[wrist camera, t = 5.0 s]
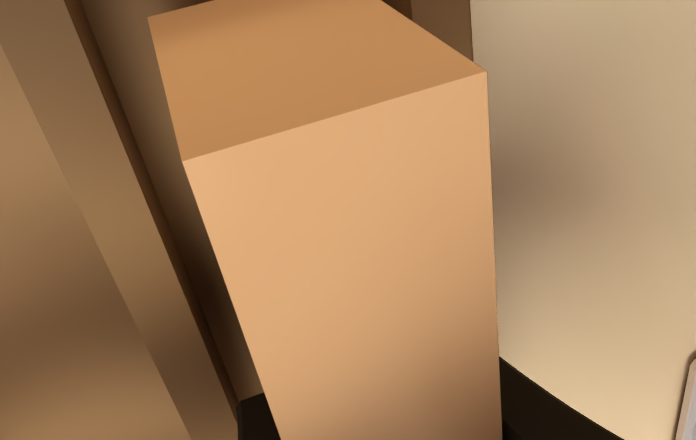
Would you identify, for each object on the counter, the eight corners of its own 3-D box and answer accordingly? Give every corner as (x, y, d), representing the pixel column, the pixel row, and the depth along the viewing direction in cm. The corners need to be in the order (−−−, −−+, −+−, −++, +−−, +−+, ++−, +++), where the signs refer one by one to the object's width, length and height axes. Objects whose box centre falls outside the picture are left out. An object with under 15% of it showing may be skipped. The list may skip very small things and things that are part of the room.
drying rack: (475, 399, 22) (527, 479, 19) (11, 580, 19) (-2, 699, 16) (434, -144, 13) (521, -133, 10) (-462, 63, 10) (-657, 151, 7)
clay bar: (420, 481, 18) (512, 670, 14) (319, 522, 18) (385, 730, 14) (334, -31, 10) (486, 70, 6) (147, 17, 10) (181, 161, 6)
